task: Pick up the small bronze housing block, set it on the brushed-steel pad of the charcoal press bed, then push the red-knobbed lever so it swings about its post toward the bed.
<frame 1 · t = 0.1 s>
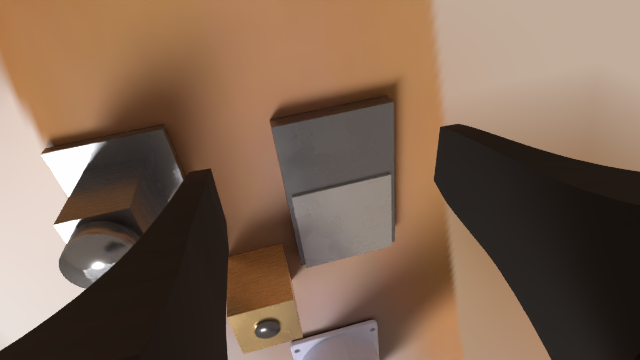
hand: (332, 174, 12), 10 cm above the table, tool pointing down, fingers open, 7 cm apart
press: (338, 184, 24), on the table
housing: (260, 268, 27), on the table
lever: (145, 320, 19), point 6 cm above the table, hinge at 0.0°
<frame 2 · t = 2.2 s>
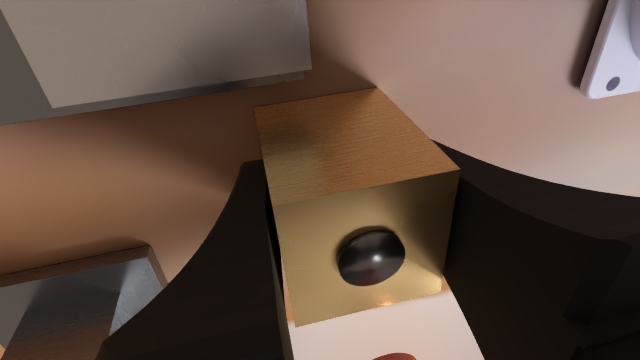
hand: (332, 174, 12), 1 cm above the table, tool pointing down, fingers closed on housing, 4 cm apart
housing: (321, 152, 13), on the table, touching gripper
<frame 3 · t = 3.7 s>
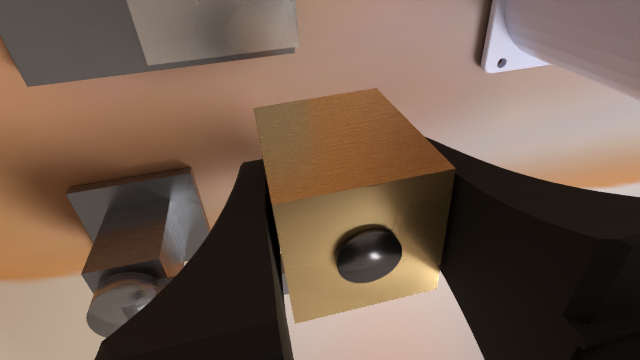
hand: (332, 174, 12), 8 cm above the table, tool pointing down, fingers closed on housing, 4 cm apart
housing: (321, 152, 13), point 7 cm above the table, touching gripper
lever: (240, 283, 17), point 6 cm above the table, hinge at 0.0°
when the fingers open (4 cm above the table, at t = 5.3 s): housing drops 1 cm, resting on press.
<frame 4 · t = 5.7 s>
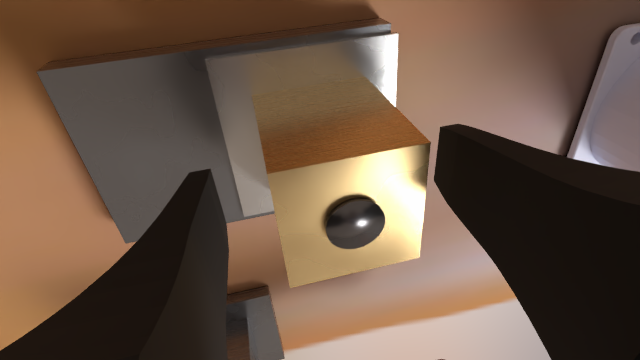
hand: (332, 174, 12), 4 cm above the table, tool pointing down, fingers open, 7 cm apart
press: (244, 131, 14), on the table
housing: (314, 136, 14), point 1 cm above the table, touching press
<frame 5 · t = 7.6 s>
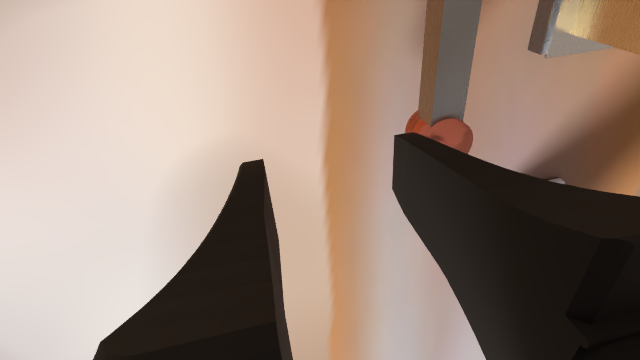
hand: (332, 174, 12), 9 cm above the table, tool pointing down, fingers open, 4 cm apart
lever: (453, 5, 13), point 6 cm above the table, hinge at 0.0°
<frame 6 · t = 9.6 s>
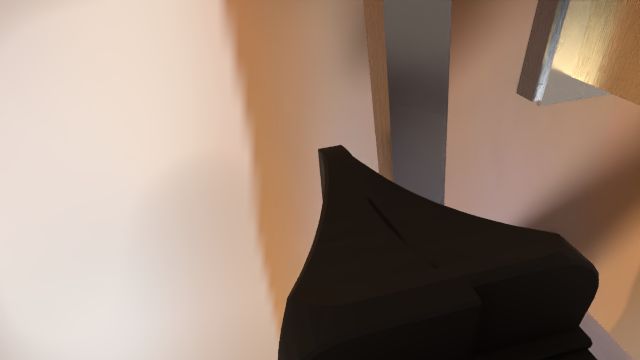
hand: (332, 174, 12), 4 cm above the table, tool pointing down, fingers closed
housing: (632, 18, 14), point 1 cm above the table, touching press
lever: (407, 61, 8), point 6 cm above the table, hinge at 5.5°, touching gripper
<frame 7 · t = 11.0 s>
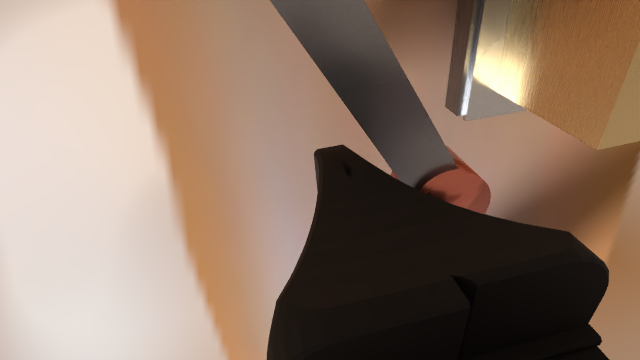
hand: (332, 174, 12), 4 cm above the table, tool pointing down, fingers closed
housing: (552, 32, 14), point 1 cm above the table, touching press
lever: (343, 45, 8), point 6 cm above the table, hinge at 30.5°, touching gripper
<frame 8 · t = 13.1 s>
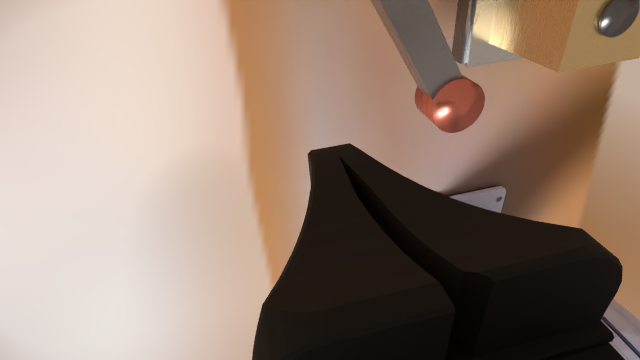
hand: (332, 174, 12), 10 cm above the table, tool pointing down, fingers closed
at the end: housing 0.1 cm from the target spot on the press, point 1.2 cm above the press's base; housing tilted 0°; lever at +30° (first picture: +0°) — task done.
